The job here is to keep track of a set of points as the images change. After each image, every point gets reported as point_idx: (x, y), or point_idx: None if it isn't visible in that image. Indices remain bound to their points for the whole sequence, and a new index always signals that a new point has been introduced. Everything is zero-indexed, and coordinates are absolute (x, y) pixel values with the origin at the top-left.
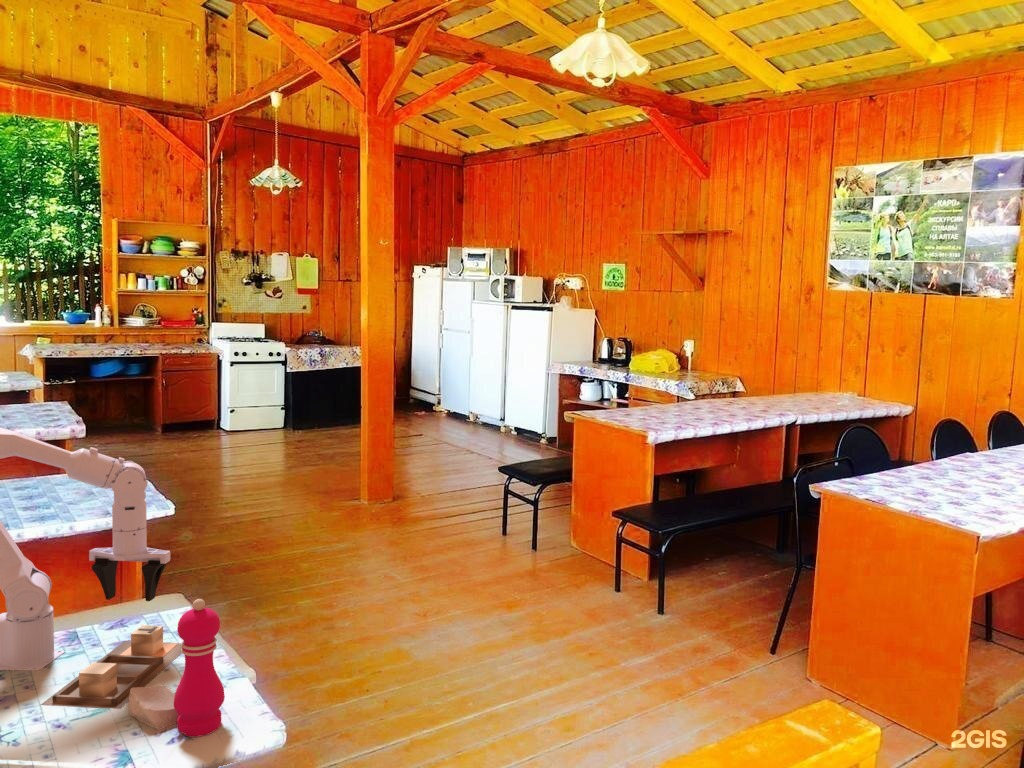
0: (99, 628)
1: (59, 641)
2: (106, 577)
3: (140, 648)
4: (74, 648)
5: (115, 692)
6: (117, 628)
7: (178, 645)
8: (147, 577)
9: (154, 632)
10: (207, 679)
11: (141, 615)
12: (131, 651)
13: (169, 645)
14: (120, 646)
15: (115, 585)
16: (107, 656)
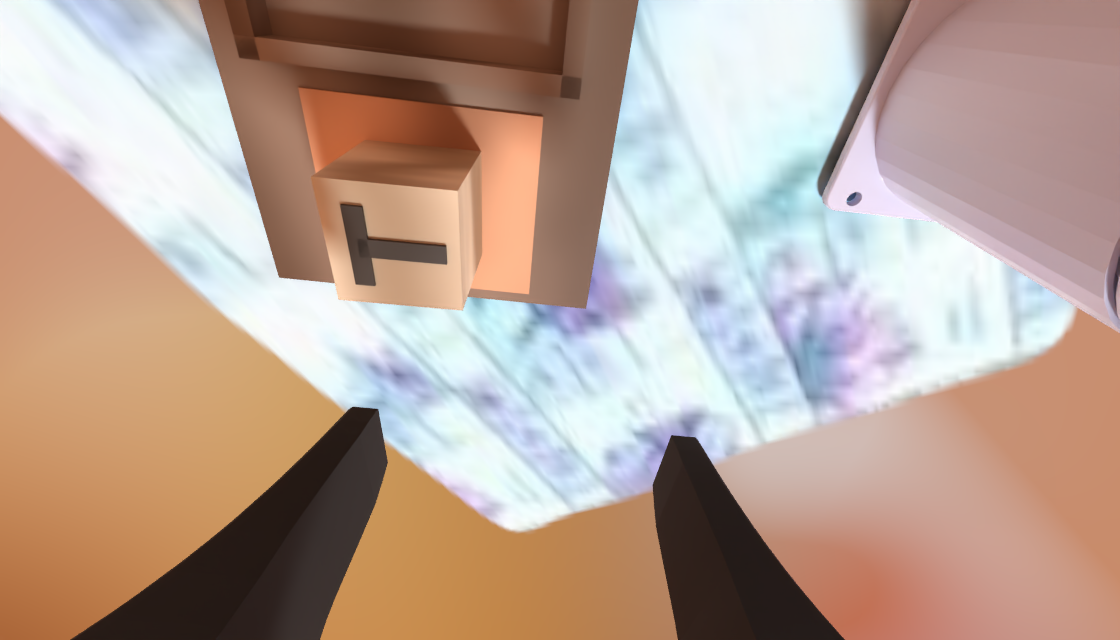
0: (731, 420)
1: (863, 326)
2: (742, 638)
3: (421, 157)
4: (788, 261)
5: None
6: (665, 419)
7: (324, 260)
8: (176, 623)
9: (322, 210)
10: None
11: (620, 495)
12: (476, 157)
13: None
14: (581, 255)
15: (665, 565)
16: (568, 67)
